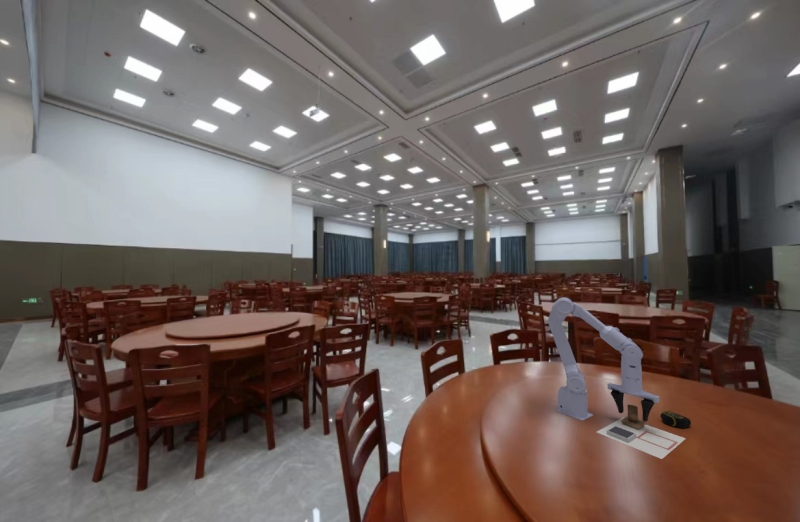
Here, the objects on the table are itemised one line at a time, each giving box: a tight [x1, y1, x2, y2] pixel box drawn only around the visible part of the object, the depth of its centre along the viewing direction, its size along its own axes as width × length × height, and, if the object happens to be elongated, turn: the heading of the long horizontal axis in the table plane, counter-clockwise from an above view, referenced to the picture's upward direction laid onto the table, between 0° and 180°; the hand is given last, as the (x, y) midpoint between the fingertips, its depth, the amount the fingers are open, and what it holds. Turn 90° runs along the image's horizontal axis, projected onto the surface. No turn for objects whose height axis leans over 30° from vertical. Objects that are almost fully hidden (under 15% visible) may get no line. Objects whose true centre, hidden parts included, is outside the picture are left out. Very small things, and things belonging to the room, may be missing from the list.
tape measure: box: [660, 410, 692, 429], centre depth 104 cm, size 7×7×4 cm
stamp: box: [622, 404, 646, 430], centre depth 102 cm, size 5×5×6 cm
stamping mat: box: [596, 416, 687, 460], centre depth 96 cm, size 17×21×2 cm
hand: (632, 416), depth 102 cm, fingers open, 6 cm apart
